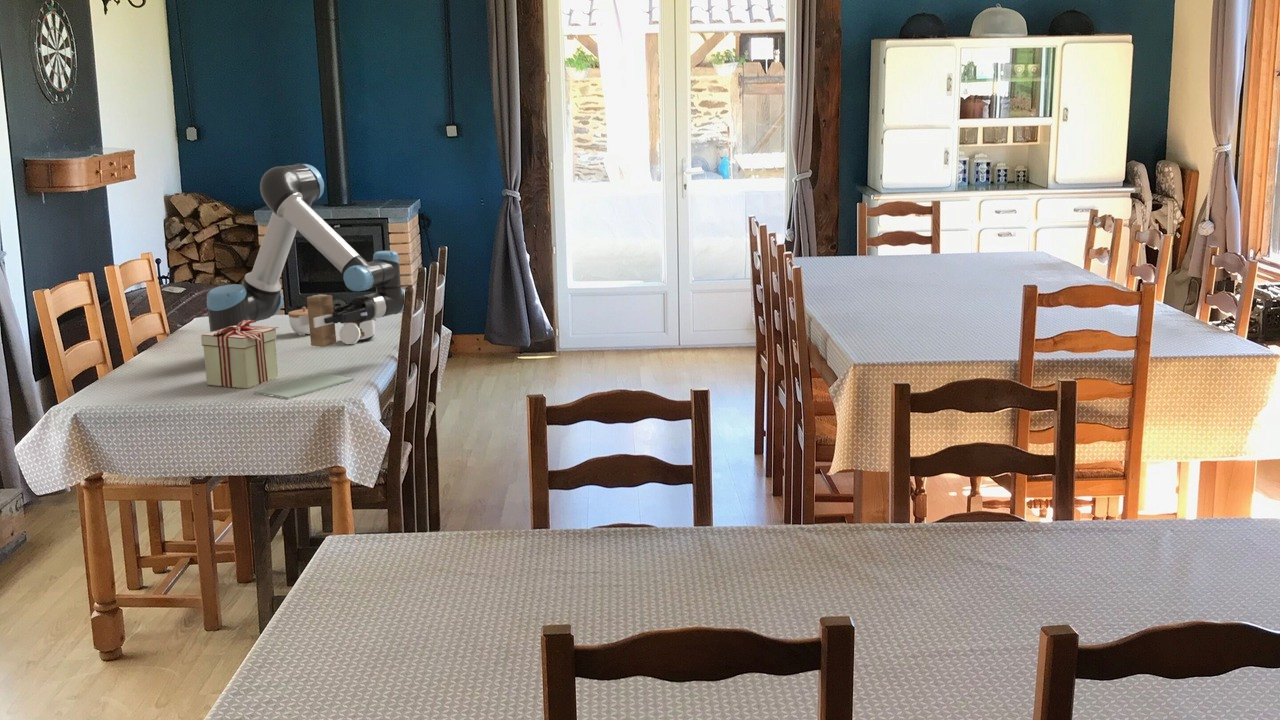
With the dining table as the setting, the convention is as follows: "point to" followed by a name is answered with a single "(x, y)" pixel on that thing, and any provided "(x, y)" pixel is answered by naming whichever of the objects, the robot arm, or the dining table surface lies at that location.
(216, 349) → the gift box
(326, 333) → the walnut block
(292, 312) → the lidded jar
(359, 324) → the spread jar
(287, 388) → the mat
